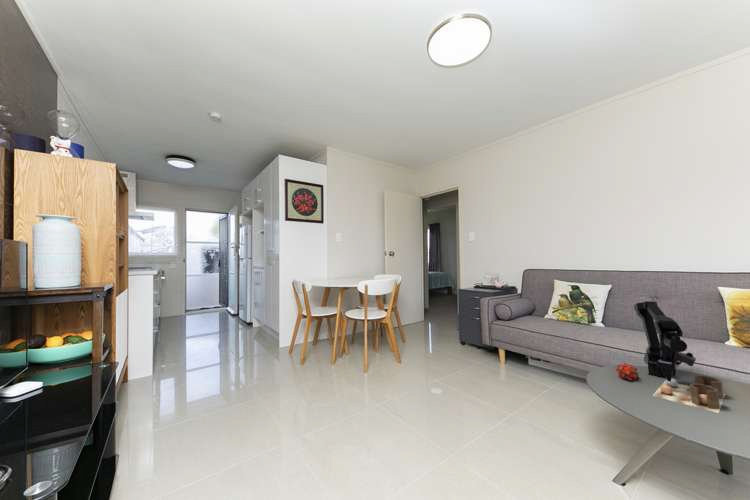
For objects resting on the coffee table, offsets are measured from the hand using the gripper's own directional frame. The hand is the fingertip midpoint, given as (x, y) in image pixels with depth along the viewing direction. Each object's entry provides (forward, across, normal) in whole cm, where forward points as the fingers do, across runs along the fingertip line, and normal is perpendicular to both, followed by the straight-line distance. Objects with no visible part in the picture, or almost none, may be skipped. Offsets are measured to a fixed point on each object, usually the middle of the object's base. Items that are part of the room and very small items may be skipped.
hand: (671, 378), depth 134 cm
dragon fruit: (+5, -3, +15) cm, 16 cm away
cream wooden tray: (+4, -6, -6) cm, 9 cm away
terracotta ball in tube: (+4, -13, -12) cm, 18 cm away
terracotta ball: (+4, -12, 0) cm, 13 cm away
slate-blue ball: (+4, 0, 0) cm, 4 cm away
